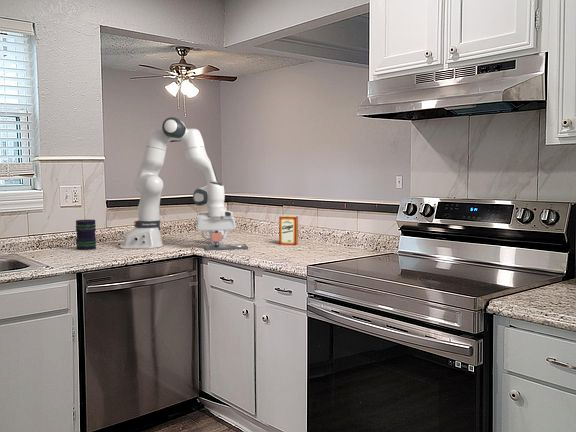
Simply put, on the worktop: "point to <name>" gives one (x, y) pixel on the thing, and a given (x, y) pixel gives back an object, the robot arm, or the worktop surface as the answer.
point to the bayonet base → (225, 246)
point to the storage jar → (85, 234)
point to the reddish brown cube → (216, 236)
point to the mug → (214, 231)
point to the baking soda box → (288, 230)
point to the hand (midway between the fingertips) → (216, 238)
